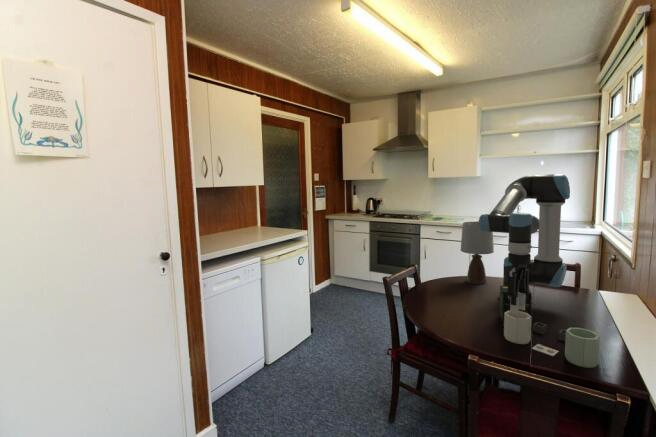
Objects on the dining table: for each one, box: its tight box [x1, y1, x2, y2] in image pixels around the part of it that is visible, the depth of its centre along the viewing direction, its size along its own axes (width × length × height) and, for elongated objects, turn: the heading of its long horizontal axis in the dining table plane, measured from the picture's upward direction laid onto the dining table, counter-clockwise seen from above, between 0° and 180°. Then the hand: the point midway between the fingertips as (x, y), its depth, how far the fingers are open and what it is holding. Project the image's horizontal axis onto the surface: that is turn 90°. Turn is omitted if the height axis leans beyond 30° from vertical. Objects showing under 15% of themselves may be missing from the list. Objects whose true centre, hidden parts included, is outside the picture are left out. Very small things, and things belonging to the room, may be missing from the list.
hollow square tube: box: [557, 328, 567, 342], centre depth 128 cm, size 4×4×3 cm
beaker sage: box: [564, 327, 601, 369], centre depth 112 cm, size 9×9×10 cm
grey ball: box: [518, 293, 526, 306], centre depth 128 cm, size 5×5×5 cm
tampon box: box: [499, 285, 532, 325], centre depth 145 cm, size 11×9×15 cm
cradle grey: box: [532, 321, 548, 335], centre depth 135 cm, size 4×4×3 cm
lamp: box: [460, 221, 495, 285], centre depth 201 cm, size 19×19×37 cm
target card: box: [531, 343, 560, 357], centre depth 120 cm, size 7×5×1 cm
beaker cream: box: [503, 310, 532, 345], centre depth 129 cm, size 9×9×10 cm
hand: (517, 310), depth 128 cm, fingers closed on grey ball, 5 cm apart
